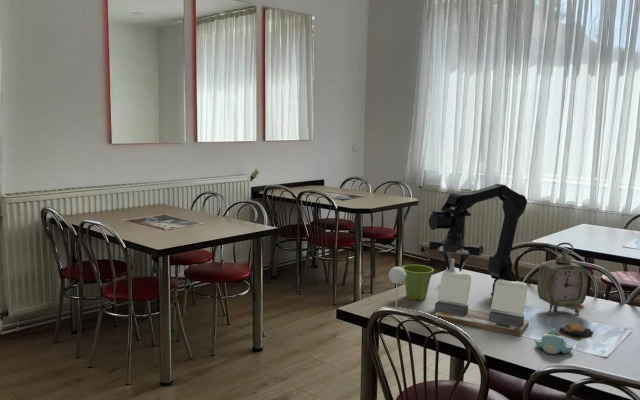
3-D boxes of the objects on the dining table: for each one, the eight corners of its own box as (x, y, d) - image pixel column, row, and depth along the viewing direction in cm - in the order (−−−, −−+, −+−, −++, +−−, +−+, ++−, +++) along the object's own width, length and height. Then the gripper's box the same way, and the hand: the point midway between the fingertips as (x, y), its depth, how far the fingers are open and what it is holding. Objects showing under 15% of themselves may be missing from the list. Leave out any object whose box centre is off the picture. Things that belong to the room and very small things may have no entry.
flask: (460, 286, 234) (461, 261, 232) (442, 285, 234) (443, 261, 232) (456, 281, 241) (458, 257, 239) (439, 280, 241) (440, 257, 240)
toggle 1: (438, 299, 201) (444, 271, 203) (467, 305, 196) (472, 275, 198) (436, 298, 199) (442, 270, 202) (465, 304, 194) (470, 274, 196)
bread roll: (578, 343, 178) (579, 331, 177) (553, 334, 185) (554, 323, 184) (597, 335, 184) (598, 324, 183) (573, 327, 191) (573, 316, 190)
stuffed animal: (577, 329, 173) (572, 334, 163) (574, 353, 173) (569, 359, 163) (539, 322, 178) (532, 326, 168) (537, 345, 178) (529, 351, 168)
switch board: (440, 308, 206) (441, 296, 206) (528, 324, 191) (529, 312, 190) (428, 317, 196) (429, 305, 195) (520, 336, 181) (520, 323, 180)
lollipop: (406, 306, 207) (408, 266, 205) (402, 311, 202) (403, 269, 199) (390, 304, 209) (391, 263, 207) (385, 309, 204) (386, 267, 202)
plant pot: (429, 304, 210) (430, 274, 209) (397, 300, 214) (398, 270, 213) (434, 294, 221) (436, 266, 220) (404, 291, 225) (405, 263, 224)
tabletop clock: (547, 317, 198) (553, 245, 195) (532, 308, 207) (537, 240, 203) (585, 315, 201) (591, 244, 198) (568, 306, 210) (574, 239, 206)
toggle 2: (492, 309, 192) (497, 279, 194) (523, 315, 186) (528, 284, 189) (490, 308, 190) (495, 278, 192) (522, 314, 185) (527, 283, 187)
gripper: (424, 229, 207) (422, 271, 209) (475, 235, 197) (473, 279, 200) (435, 224, 216) (433, 265, 219) (485, 229, 207) (482, 272, 209)
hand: (454, 270), depth 211 cm, fingers open, 4 cm apart
